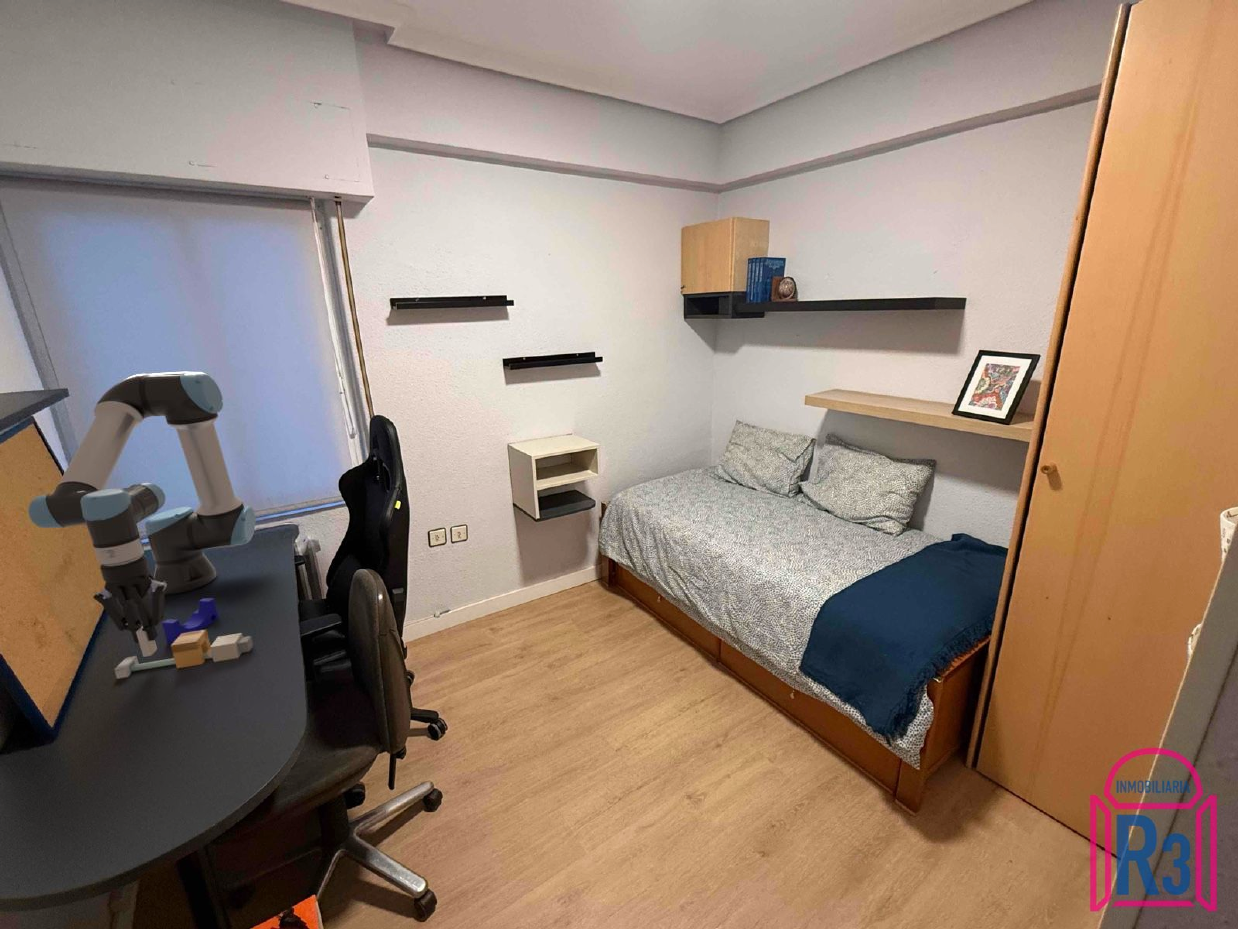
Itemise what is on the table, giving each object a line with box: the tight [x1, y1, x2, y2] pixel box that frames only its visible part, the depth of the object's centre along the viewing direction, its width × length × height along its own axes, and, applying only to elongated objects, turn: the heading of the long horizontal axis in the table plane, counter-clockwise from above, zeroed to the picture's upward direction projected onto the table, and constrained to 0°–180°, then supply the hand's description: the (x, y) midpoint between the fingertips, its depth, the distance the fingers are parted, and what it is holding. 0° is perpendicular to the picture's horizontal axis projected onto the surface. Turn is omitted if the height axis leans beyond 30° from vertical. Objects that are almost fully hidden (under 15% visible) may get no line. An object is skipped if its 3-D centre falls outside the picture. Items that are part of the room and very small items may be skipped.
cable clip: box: [161, 597, 219, 645], centre depth 137 cm, size 12×4×6 cm, turn 174°
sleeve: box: [170, 629, 211, 669], centre depth 124 cm, size 5×5×6 cm
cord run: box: [114, 632, 254, 679], centre depth 124 cm, size 26×5×4 cm, turn 107°
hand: (150, 652), depth 122 cm, fingers closed
